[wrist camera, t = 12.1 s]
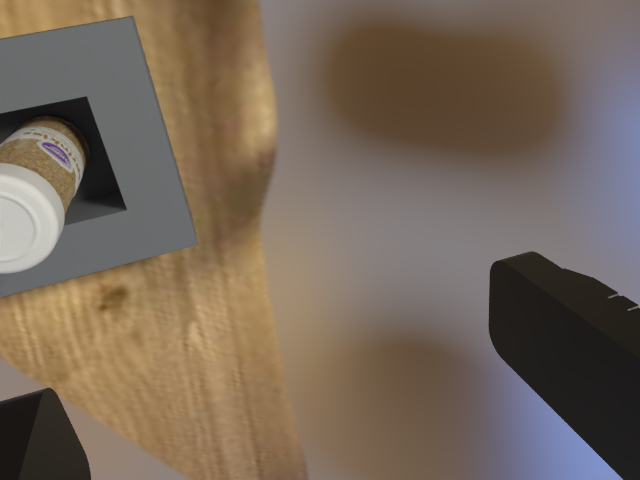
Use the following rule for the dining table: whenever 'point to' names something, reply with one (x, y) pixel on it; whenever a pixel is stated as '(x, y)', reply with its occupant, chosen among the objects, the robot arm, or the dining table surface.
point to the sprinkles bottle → (37, 188)
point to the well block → (98, 147)
